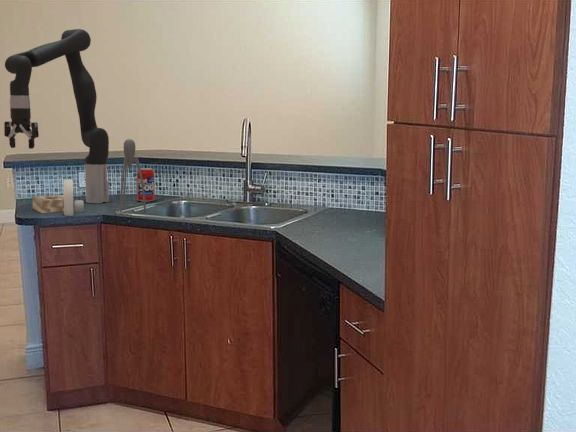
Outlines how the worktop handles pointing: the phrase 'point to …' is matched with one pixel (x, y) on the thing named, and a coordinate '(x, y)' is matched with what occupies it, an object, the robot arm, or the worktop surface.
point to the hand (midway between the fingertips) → (22, 148)
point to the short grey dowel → (79, 206)
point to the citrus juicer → (128, 160)
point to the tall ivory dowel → (68, 197)
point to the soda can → (146, 185)
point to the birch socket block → (48, 204)
